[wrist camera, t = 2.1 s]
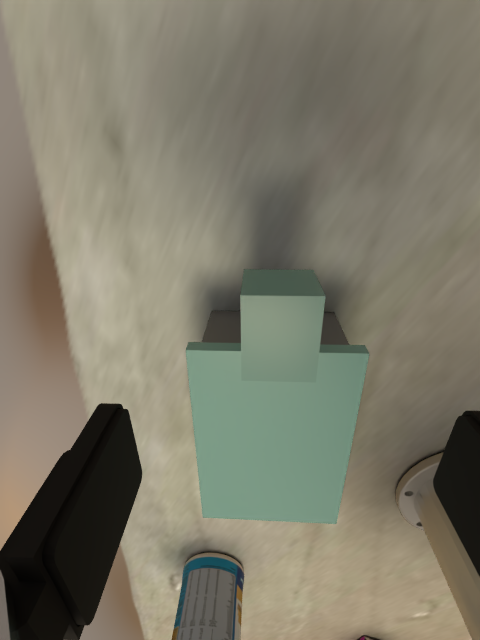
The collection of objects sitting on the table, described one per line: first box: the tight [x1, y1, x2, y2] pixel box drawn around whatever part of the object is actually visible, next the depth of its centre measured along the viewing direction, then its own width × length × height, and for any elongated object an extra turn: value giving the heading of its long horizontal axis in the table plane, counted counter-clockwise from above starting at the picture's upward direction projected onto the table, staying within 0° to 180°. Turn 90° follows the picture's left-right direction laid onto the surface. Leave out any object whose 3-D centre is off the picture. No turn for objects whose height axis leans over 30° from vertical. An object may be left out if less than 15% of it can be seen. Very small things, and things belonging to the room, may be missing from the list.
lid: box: [186, 269, 369, 524], centre depth 22 cm, size 22×11×4 cm, turn 1°
